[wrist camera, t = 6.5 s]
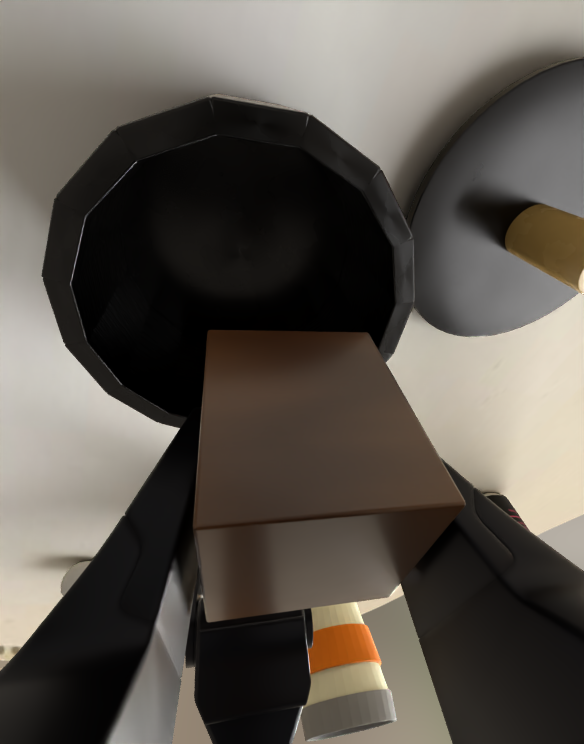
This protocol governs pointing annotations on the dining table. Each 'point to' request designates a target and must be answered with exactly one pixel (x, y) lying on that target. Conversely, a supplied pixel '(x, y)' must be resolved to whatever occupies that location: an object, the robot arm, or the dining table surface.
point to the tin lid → (505, 210)
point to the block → (309, 475)
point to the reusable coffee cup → (344, 676)
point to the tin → (220, 245)
